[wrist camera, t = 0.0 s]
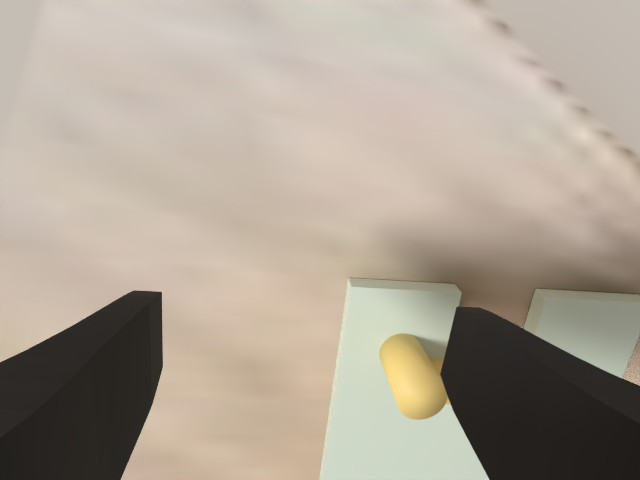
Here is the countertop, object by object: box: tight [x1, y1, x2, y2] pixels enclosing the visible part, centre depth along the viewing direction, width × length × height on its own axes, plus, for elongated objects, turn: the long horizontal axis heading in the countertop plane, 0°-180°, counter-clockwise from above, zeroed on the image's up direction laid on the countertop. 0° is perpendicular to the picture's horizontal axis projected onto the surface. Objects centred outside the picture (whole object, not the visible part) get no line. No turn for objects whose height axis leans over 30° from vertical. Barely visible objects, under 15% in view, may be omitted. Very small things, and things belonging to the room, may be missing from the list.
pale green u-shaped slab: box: [319, 278, 640, 480], centre depth 24 cm, size 20×16×4 cm
